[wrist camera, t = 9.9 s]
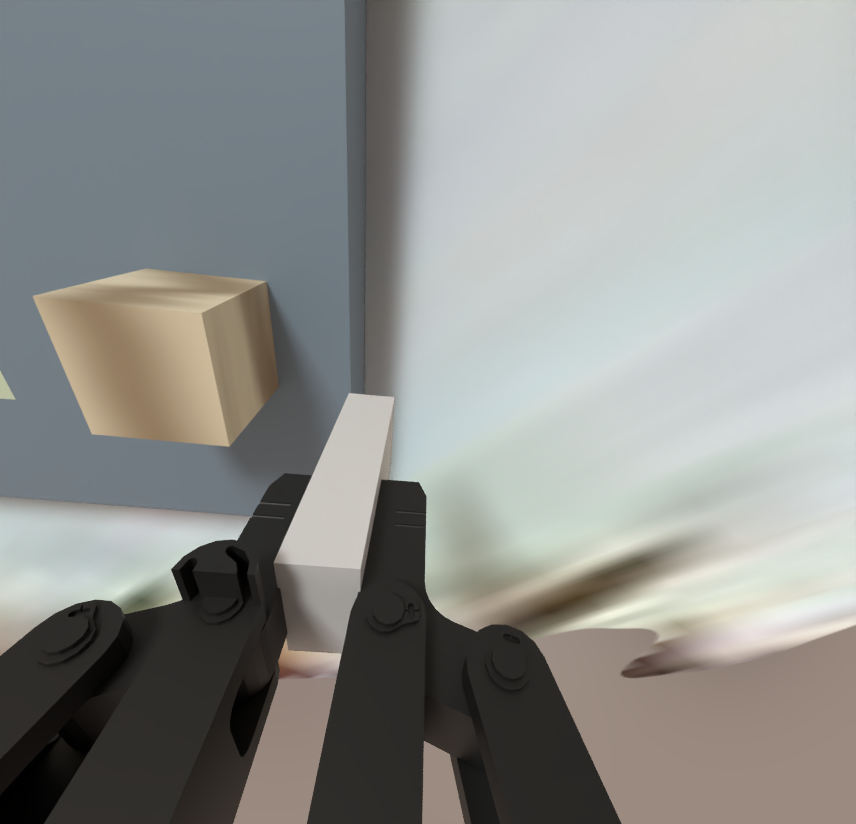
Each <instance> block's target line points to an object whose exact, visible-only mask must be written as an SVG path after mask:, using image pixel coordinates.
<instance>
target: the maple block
mask: <svg viewBox="0 0 856 824" xmlns="http://www.w3.org/2000/svg"><path fill="white" fill-rule="evenodd" d="M32 297H33V299H34V301H35V303H36V306H37V308H38V310H39V313H40V315H41V317H42V320H43V322H44V324H45V327H46V329H47V331H48V334H49V336H50V338H51V341H52V343H53V345H54V348H55V350H56V352H57V354H58V357H59V359H60V361H61V364H62V366H63V368H64V371H65V373H66V375H67V378H68V380H69V382H70V385H71V387H72V389H73V392H74V394H75V396H76V399H77V401H78V403H79V405H80V408H81V410H82V412H83V415H84V417H85V419H86V422H87V424H88V426H89V429H90V431H91V433H92V434H95V435H106V436H117V437H128V438H139V439H150V440H161V441H172V442H183V443H195V444H206V445H217V446H228V447H230V445H231V444H232V443H233V442H234V441H235V439H236V438H237V437H238V436H239V435H240V433H241V432H242V431H243V430H244V429H245V427H246V426H247V425H248V424H249V423H250V421H251V420H252V419H253V418H254V417H255V415H256V414H257V413H258V412H259V411H260V409H261V408H262V407H263V406H264V405H265V403H266V402H267V401H268V400H269V399H270V397H271V396H272V395H273V394H274V393H275V391H276V390H277V389H278V388H279V383H278V375H277V366H276V357H275V349H274V340H273V332H272V323H271V315H270V306H269V297H268V289H267V281H260V280H250V279H241V278H231V277H222V276H212V275H202V274H193V273H183V272H174V271H164V270H155V269H142V270H138V271H134V272H129V273H125V274H121V275H117V276H113V277H109V278H105V279H100V280H96V281H92V282H88V283H84V284H80V285H76V286H72V287H67V288H63V289H59V290H55V291H51V292H47V293H43V294H38V295H34V296H32Z"/></svg>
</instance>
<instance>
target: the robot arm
mask: <svg viewBox="0 0 856 824" xmlns="http://www.w3.org/2000/svg"><path fill="white" fill-rule="evenodd" d="M394 398H395V397H388V396H376V395H364V394H353V393H349V394H348V396H347V399H346V401H345V403H344V405H343V408H342V410H341V412H340V414H339V417H338V419H337V421H336V423H335V426H334V428H333V430H332V432H331V435H330V437H329V439H328V441H327V444H326V446H325V448H324V450H323V453H322V455H321V457H320V459H319V462H318V464H317V466H316V468H315V471H314V473H313V475H302V474H289V473H284V474H283V475H282V476H281V477H279V478H278V479H277V480H276V481H274V482H273V483H272V484H271V485H269V487H268V489H267V490H266V492H265V494H264V495H263V497H262V499H261V501H260V504H258V506H257V507H256V509H255V511H254V513H253V516H252V518H250V519H249V521H248V523H247V525H246V526H245V528H244V530H243V532H242V533H241V535H240V537H239V538H238V540H237V541H236V540H222V541H215V542H212V543H209V544H206V545H203V546H200V547H198V548H197V549H195V550H193V551H192V552H190V553H189V554H187V555H185V556H184V557H183V558H182V559H181V560H180V561H179V562H178V563H177V564H176V565H175V566H174V567H173V568H172V569H171V570H172V573H173V575H174V578H175V581H176V583H177V586H178V589H179V591H180V594H181V596H182V599H183V600H181V601H178V602H175V603H172V604H168V605H165V606H160V607H156V608H151V609H147V610H142V611H138V612H133V613H129V614H123V612H122V610H121V608H120V607H118V606H117V605H116V604H114V603H113V602H112V601H104V600H92V601H87V602H82V603H78V604H75V605H73V606H71V607H68V608H66V609H64V610H62V611H59V612H57V613H55V614H54V615H52V616H51V617H49V618H48V619H46V620H45V621H43V622H42V623H41V624H39V625H38V626H36V627H35V628H34V629H32V630H31V631H30V632H29V633H28V634H26V635H25V636H24V637H23V638H22V639H20V640H19V641H18V642H17V643H16V644H14V645H13V646H12V647H11V648H9V649H8V650H7V651H6V652H5V653H3V654H2V655H1V656H0V824H233V822H234V819H235V815H236V812H237V809H238V806H239V803H240V800H241V797H242V793H243V791H244V787H245V784H246V781H247V778H248V775H249V772H250V769H251V766H252V763H253V759H254V756H255V753H256V750H257V747H258V744H259V741H260V737H261V734H262V731H263V728H264V725H265V722H266V719H267V716H268V713H269V709H270V706H271V703H272V700H273V697H274V694H275V691H276V688H277V685H278V679H279V672H280V669H279V664H278V660H279V657H280V654H281V651H282V648H283V645H284V642H285V639H287V645H288V650H294V651H311V652H327V653H342V655H341V660H340V665H339V670H338V675H337V680H336V685H335V690H334V694H333V700H332V704H331V709H330V714H329V719H328V723H327V728H326V733H325V739H324V743H323V748H322V753H321V758H320V763H319V768H318V772H317V777H316V782H315V787H314V792H313V797H312V802H311V806H310V811H309V816H308V821H307V824H422V800H423V798H422V797H423V748H424V746H423V745H424V744H423V743H424V741H426V742H428V743H430V744H432V745H434V746H436V747H437V748H439V749H441V750H443V751H445V752H447V753H449V754H450V757H451V762H452V766H453V771H454V775H455V780H456V785H457V789H458V794H459V799H460V803H461V808H462V813H463V818H464V822H465V824H621V822H620V820H619V818H618V815H617V813H616V811H615V809H614V807H613V805H612V802H611V800H610V799H609V796H608V794H607V792H606V789H605V787H604V785H603V783H602V781H601V779H600V776H599V774H598V772H597V770H596V768H595V766H594V763H593V761H592V759H591V757H590V755H589V753H588V751H587V748H586V746H585V744H584V742H583V740H582V738H581V735H580V733H579V731H578V729H577V727H576V725H575V722H574V720H573V718H572V716H571V714H570V712H569V710H568V707H567V705H566V703H565V701H564V699H563V696H562V694H561V692H560V690H559V688H558V686H557V684H556V681H555V679H554V677H553V675H552V673H551V671H550V668H549V666H548V664H547V662H546V660H545V657H544V656H543V654H542V653H541V652H540V650H539V648H538V647H537V645H536V644H535V642H534V641H533V640H531V639H530V638H529V637H528V636H527V635H526V634H524V633H523V632H522V631H520V630H518V629H515V628H513V627H511V626H508V625H490V626H487V627H485V628H483V629H480V630H479V631H478V632H476V631H474V630H471V629H469V628H466V627H464V626H462V625H459V624H457V623H454V622H453V621H451V620H449V619H447V618H445V617H444V616H443V615H442V614H440V613H439V612H438V611H437V610H436V609H435V608H434V606H433V605H432V603H431V602H430V600H429V598H428V595H427V593H426V589H425V539H426V495H425V493H424V491H423V489H422V487H421V485H420V484H419V482H407V481H394V480H388V479H389V473H390V467H391V455H392V436H393V417H394Z"/></svg>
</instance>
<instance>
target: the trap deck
mask: <svg viewBox="0 0 856 824" xmlns="http://www.w3.org/2000/svg"><path fill="white" fill-rule="evenodd" d="M365 140H366V0H0V496H4V497H17V498H29V499H42V500H55V501H67V502H80V503H92V504H105V505H118V506H130V507H143V508H155V509H168V510H181V511H193V512H206V513H218V514H231V515H244V516H253V513H254V511H255V509H256V507H257V506H258V504H260V501H261V499H262V497H263V495H264V494H265V492H266V490H267V489H268V487H269V485H271V484H272V483H273V482H274V481H276V480H277V479H278V478H279V477H281V476H282V475H283V474H284V473H289V474H302V475H313V473H314V471H315V468H316V466H317V464H318V462H319V459H320V457H321V455H322V453H323V450H324V448H325V446H326V444H327V441H328V439H329V437H330V435H331V432H332V430H333V428H334V426H335V423H336V421H337V419H338V417H339V414H340V412H341V410H342V408H343V405H344V403H345V401H346V399H347V396H348V394H349V393H353V394H364V358H365ZM142 269H155V270H164V271H174V272H183V273H193V274H202V275H212V276H222V277H231V278H241V279H250V280H260V281H267V289H268V297H269V306H270V315H271V323H272V332H273V340H274V349H275V357H276V366H277V375H278V383H279V388H278V389H277V390H276V391H275V393H274V394H273V395H272V396H271V397H270V399H269V400H268V401H267V402H266V403H265V405H264V406H263V407H262V408H261V409H260V411H259V412H258V413H257V414H256V415H255V417H254V418H253V419H252V420H251V421H250V423H249V424H248V425H247V426H246V427H245V429H244V430H243V431H242V432H241V433H240V435H239V436H238V437H237V438H236V439H235V441H234V442H233V443H232V444H231V445H230V447H228V446H217V445H206V444H195V443H183V442H172V441H161V440H150V439H139V438H128V437H117V436H106V435H95V434H92V433H91V431H90V429H89V426H88V424H87V422H86V419H85V417H84V415H83V412H82V410H81V408H80V405H79V403H78V401H77V399H76V396H75V394H74V392H73V389H72V387H71V385H70V382H69V380H68V378H67V375H66V373H65V371H64V368H63V366H62V364H61V361H60V359H59V357H58V354H57V352H56V350H55V348H54V345H53V343H52V341H51V338H50V336H49V334H48V331H47V329H46V327H45V324H44V322H43V320H42V317H41V315H40V313H39V310H38V308H37V306H36V303H35V301H34V299H33V297H32V296H34V295H38V294H43V293H47V292H51V291H55V290H59V289H63V288H67V287H72V286H76V285H80V284H84V283H88V282H92V281H96V280H100V279H105V278H109V277H113V276H117V275H121V274H125V273H129V272H134V271H138V270H142Z"/></svg>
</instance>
